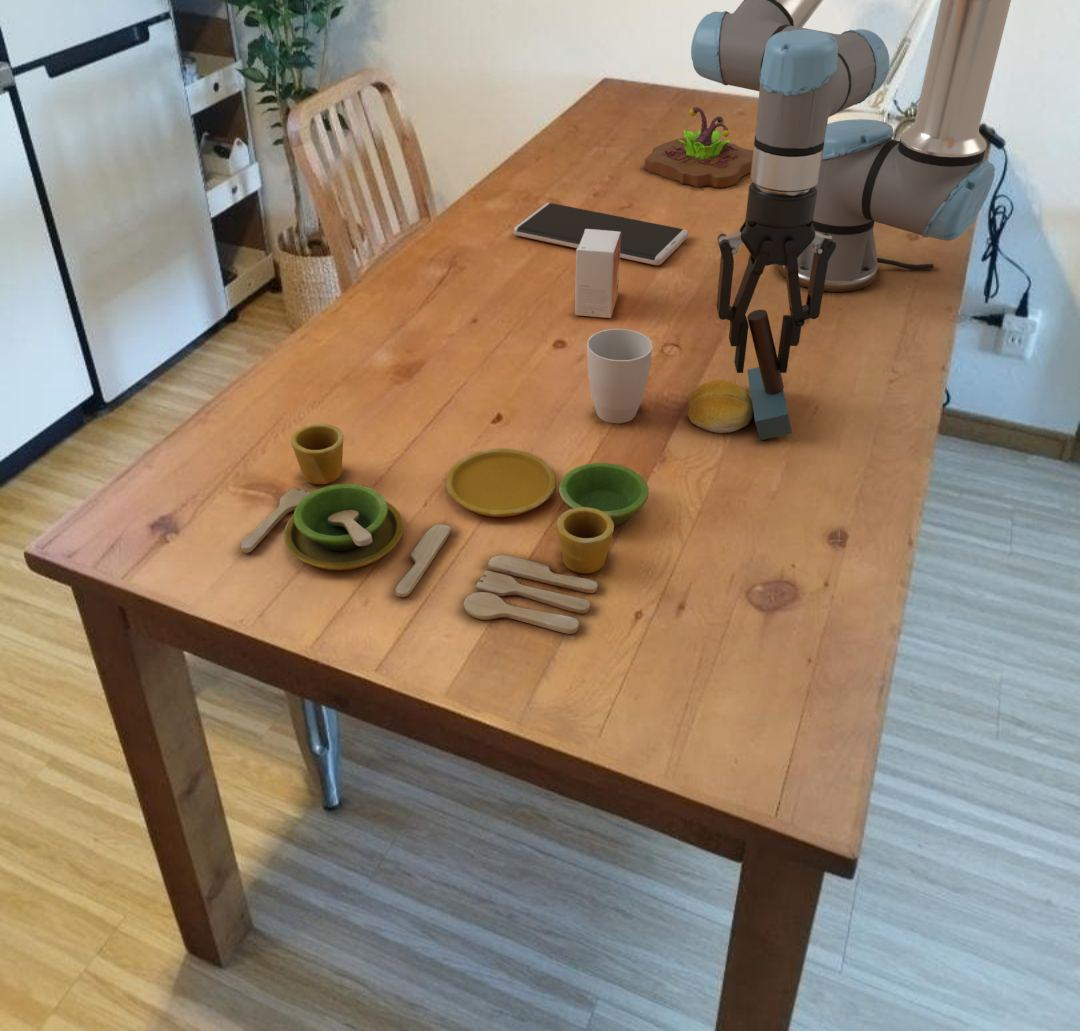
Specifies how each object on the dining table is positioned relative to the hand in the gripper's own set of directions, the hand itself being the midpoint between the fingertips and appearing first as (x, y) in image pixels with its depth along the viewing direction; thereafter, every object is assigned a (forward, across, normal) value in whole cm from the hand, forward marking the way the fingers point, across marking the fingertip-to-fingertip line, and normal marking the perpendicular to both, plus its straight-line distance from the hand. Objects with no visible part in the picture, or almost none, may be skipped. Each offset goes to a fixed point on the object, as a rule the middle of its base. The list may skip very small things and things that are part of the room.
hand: (760, 367), depth 133 cm
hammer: (+6, -3, 0) cm, 7 cm away
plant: (+7, -2, -89) cm, 90 cm away
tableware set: (+7, +37, +22) cm, 44 cm away
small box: (+7, +19, -31) cm, 37 cm away
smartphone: (+7, +18, -56) cm, 59 cm away
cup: (+7, +18, 0) cm, 19 cm away
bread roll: (+7, +4, 0) cm, 9 cm away
